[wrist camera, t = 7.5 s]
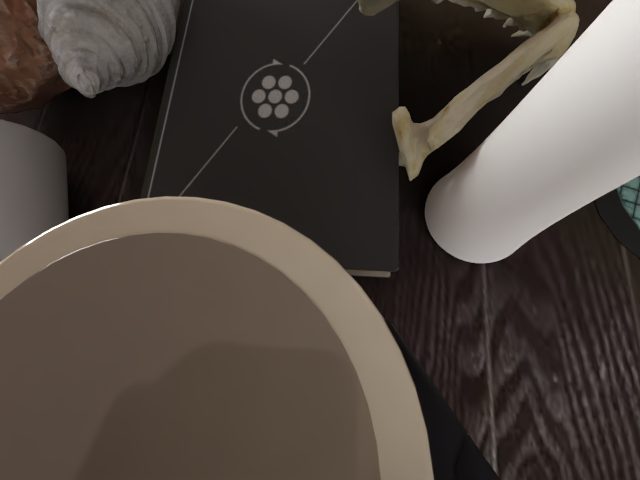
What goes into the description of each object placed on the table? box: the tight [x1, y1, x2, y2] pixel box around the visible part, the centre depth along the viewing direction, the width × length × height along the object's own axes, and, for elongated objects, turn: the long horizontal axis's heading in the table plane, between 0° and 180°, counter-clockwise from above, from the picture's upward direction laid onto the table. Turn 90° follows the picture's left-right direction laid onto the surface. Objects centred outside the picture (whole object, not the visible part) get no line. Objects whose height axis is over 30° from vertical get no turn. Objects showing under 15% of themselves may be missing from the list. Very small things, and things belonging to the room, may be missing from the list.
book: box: [140, 0, 399, 278], centre depth 20 cm, size 22×15×3 cm
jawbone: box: [358, 0, 579, 181], centre depth 17 cm, size 12×13×8 cm
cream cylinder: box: [0, 196, 434, 480], centre depth 9 cm, size 6×6×12 cm
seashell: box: [37, 0, 181, 98], centre depth 17 cm, size 6×14×8 cm
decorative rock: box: [0, 0, 71, 114], centre depth 20 cm, size 13×11×10 cm
